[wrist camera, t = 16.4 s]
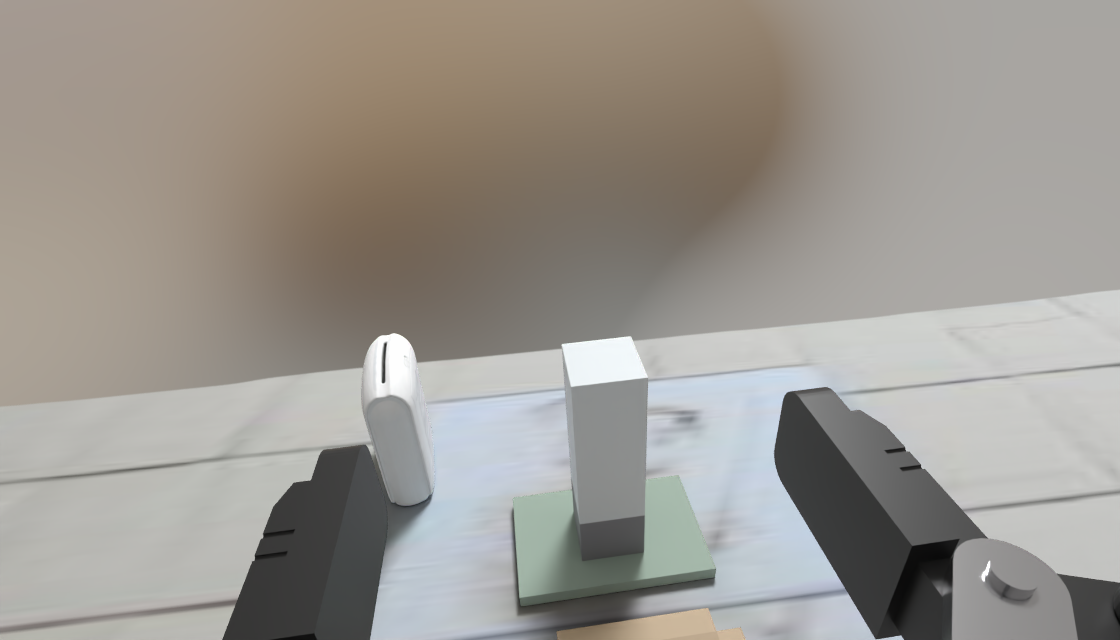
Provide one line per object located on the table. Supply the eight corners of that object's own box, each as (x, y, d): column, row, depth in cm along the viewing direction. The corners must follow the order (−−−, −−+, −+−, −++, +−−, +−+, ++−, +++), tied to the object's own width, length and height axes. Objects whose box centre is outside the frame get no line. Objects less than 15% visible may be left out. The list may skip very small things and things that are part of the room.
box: (582, 561, 42) (570, 386, 34) (573, 511, 46) (561, 344, 38) (644, 552, 43) (647, 377, 34) (630, 503, 47) (630, 336, 38)
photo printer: (390, 432, 57) (360, 326, 51) (434, 424, 58) (410, 318, 52) (386, 513, 49) (350, 397, 42) (438, 502, 49) (410, 386, 43)
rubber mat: (520, 606, 41) (519, 597, 40) (514, 506, 48) (512, 497, 48) (715, 577, 42) (716, 568, 41) (678, 483, 49) (678, 475, 49)
